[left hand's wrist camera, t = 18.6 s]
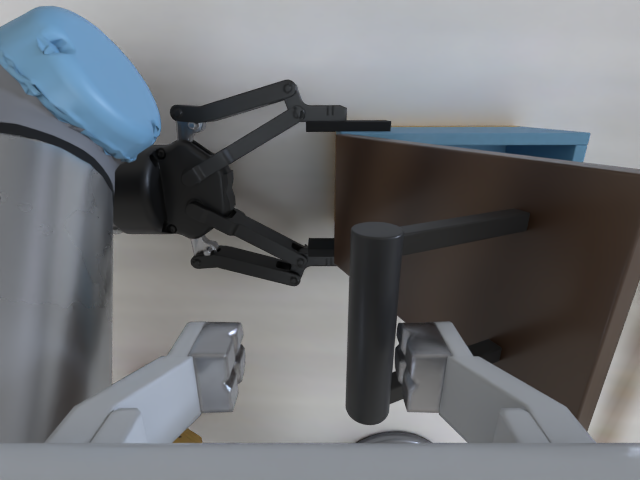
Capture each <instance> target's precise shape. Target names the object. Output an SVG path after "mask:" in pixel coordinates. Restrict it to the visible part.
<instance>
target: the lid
mask: <svg viewBox="0 0 640 480" xmlns="http://www.w3.org/2000/svg"><path fill="white" fill-rule="evenodd" d="M334 264H335V265H337V266H338V267H339V268H340V269H341V270H343V271H344V272H345V273H346V274H347V275H349V308H348V342H347V377H346V410H347V412H348V414H349V416H350V417H351V418H352V419H353V420H355V421H356V422H358V423H361V424H365V425H375V424H378V423H380V422H382V421H383V420H385V418H386V417H387V415H388V413H389V404H391V403H394V402H396V401H399V400H401V399H403V396H402V384H401V383H400V382H399V381H398V378H397V375H396V371H395V372H392V368H393V357H394V345H395V333H396V321H397V316H398V317H400V318H401V319H402V320H403V321H404V322H406V323H424V322H451V323H453V325H454V327H455V328H456V330H457V331H458V333H459V334H460V336H461V338H462V339H463V341H464V342H465V344H466V345H467V347H468V349H469V350H470V352H471V353H472V355H473V356H479V357H481V358H482V359H484V360H486V361H488V362H489V363H491V364H493V365H495V366H496V367H498V368H500V369H502V370H503V371H505V372H507V373H508V374H510V375H512V376H514V377H515V378H517V379H519V380H521V381H522V382H524V383H526V384H528V385H529V386H531V387H533V388H534V389H536V390H538V391H540V392H541V393H543V394H545V395H547V396H548V397H550V398H552V399H554V400H555V401H557V402H559V403H560V404H562V405H564V406H566V407H567V408H568V409H569V411H570V412H571V413H572V414H573V415H574V417H575V418H576V419H577V420H578V421H579V423H580V424H581V425H582V426H583V427H584V429H585V430H586V431H588V428H589V425H590V422H591V419H592V416H593V413H594V410H595V408H596V405H597V402H598V399H599V396H600V393H601V390H602V387H603V384H604V381H605V379H606V376H607V373H608V370H609V367H610V364H611V361H612V358H613V355H614V352H615V350H616V347H617V344H618V341H619V338H620V335H621V332H622V329H623V326H624V324H625V321H626V318H627V315H628V312H629V309H630V306H631V303H632V300H633V297H634V295H635V292H636V289H637V286H638V283H639V280H640V169H633V168H625V167H616V166H608V165H600V164H592V163H583V162H575V161H567V160H559V159H550V158H542V157H534V156H526V155H517V154H509V153H501V152H493V151H484V150H476V149H468V148H460V147H452V146H443V145H435V144H427V143H419V142H410V141H402V140H394V139H386V138H377V137H369V136H361V135H353V134H336V152H335V234H334Z"/></svg>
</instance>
